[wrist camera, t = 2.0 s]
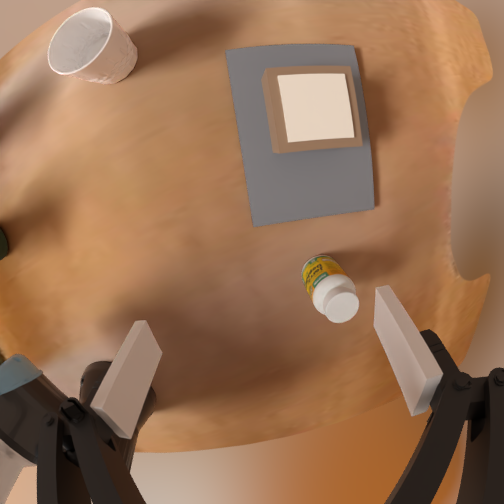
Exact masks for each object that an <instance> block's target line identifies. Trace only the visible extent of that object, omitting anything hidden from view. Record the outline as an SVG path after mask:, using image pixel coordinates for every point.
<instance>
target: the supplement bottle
mask: <svg viewBox="0 0 504 504" xmlns="http://www.w3.org/2000/svg"><path fill="white" fill-rule="evenodd" d="M301 274H302V281H303V283H304V285H305V288H306V290H307V292H308V294H309V296H310V298H311V300H312V302H313V304H314V306H315V308H316V309H317V310H318V311H319V312H320V313H322V314H324V315H326V316H327V318H328V319H329V320H330V321H332V322H335V323H342V322H346V321H348V320H349V319H351V318H352V317H353V316H354V315H355V314H356V312H357V311H358V308H359V300H358V297H357V296H356V289H355V285H354V283H353V282H352V280H351V279H350V278H349V277H348V275H347V274H346V273H345V272H344V271H343V270H342V268H341V267H340V266H339V265H338V264H337V262H336V261H335V260H334V259H333V258H331V257H329V256H327V255H318V256H315V257H313V258H311V259H309V260H308V261H307V262H306V263H305V265H304V267H303V269H302V273H301Z"/></svg>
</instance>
